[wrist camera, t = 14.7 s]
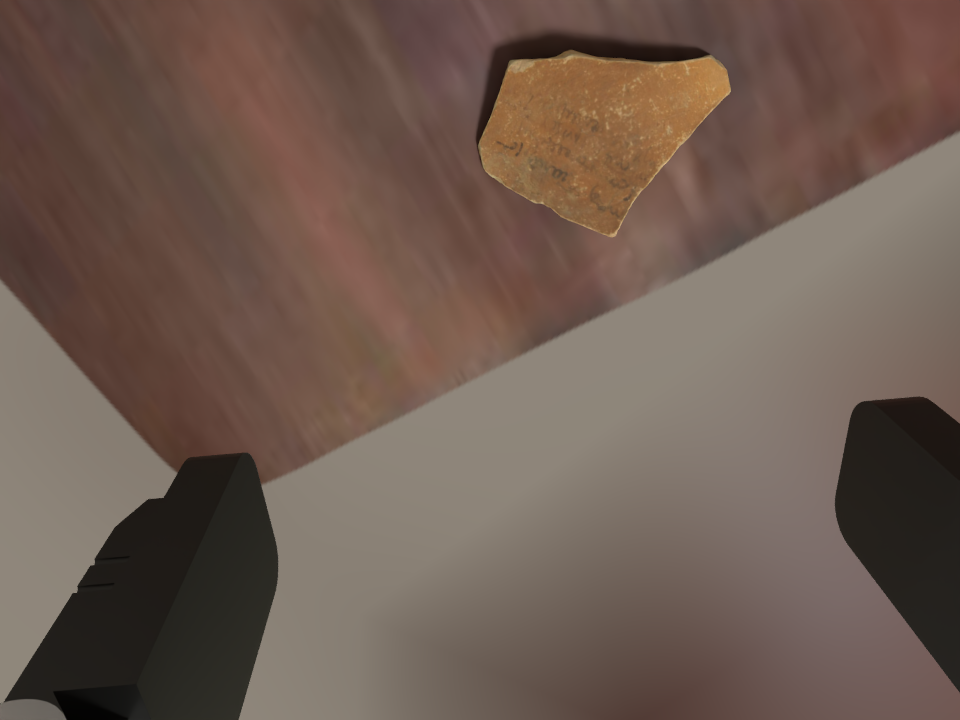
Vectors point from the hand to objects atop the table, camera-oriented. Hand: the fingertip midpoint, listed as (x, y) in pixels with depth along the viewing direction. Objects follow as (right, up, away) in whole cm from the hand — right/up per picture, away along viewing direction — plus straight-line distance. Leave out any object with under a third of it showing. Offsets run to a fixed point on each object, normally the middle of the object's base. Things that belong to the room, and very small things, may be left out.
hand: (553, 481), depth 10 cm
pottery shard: (+5, +14, +25) cm, 29 cm away
